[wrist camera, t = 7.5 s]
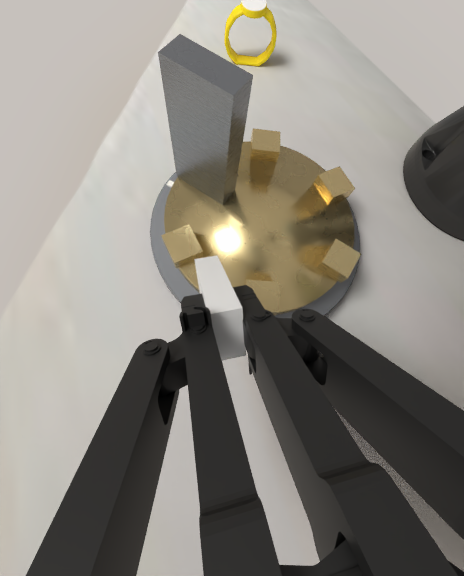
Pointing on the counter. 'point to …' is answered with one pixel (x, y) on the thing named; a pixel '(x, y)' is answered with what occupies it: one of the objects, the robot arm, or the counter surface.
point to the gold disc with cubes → (247, 190)
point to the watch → (252, 8)
